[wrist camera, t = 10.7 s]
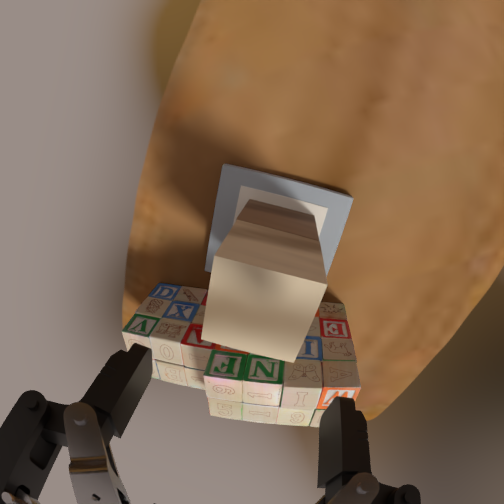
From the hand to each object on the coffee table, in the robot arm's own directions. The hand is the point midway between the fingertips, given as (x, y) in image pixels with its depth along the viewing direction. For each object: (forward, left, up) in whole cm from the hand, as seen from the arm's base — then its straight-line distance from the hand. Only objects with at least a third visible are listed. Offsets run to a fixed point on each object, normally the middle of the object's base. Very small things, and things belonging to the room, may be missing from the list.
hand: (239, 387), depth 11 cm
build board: (0, 0, -18) cm, 18 cm away
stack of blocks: (+11, -1, -19) cm, 22 cm away
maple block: (0, 0, -11) cm, 11 cm away
